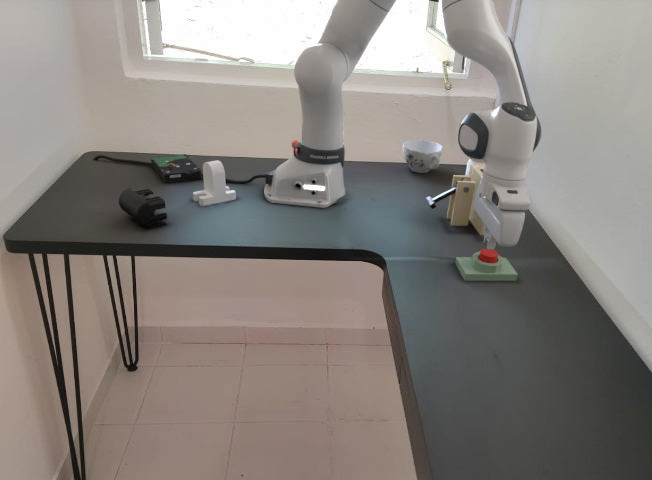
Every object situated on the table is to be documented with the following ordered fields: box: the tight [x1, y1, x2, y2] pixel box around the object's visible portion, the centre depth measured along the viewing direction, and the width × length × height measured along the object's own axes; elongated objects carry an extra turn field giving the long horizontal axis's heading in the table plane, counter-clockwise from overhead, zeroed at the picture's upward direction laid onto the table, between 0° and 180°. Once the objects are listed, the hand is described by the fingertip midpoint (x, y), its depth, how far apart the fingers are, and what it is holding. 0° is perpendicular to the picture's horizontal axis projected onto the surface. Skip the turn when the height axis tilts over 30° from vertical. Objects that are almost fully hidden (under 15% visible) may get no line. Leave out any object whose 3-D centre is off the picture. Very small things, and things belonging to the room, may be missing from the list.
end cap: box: [118, 187, 168, 229], centre depth 138 cm, size 10×7×7 cm
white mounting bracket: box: [192, 159, 237, 207], centre depth 153 cm, size 5×10×10 cm, turn 131°
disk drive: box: [150, 154, 203, 183], centre depth 168 cm, size 10×3×15 cm
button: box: [479, 248, 499, 263], centre depth 132 cm, size 4×4×2 cm
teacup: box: [402, 139, 444, 174], centre depth 187 cm, size 15×12×8 cm
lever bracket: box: [446, 174, 476, 227], centre depth 151 cm, size 6×8×13 cm
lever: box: [425, 178, 468, 210], centre depth 149 cm, size 11×5×2 cm
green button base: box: [454, 250, 519, 282], centre depth 133 cm, size 12×8×4 cm, turn 99°
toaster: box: [469, 164, 485, 236], centre depth 152 cm, size 9×16×14 cm, turn 9°
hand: (488, 246), depth 130 cm, fingers closed
